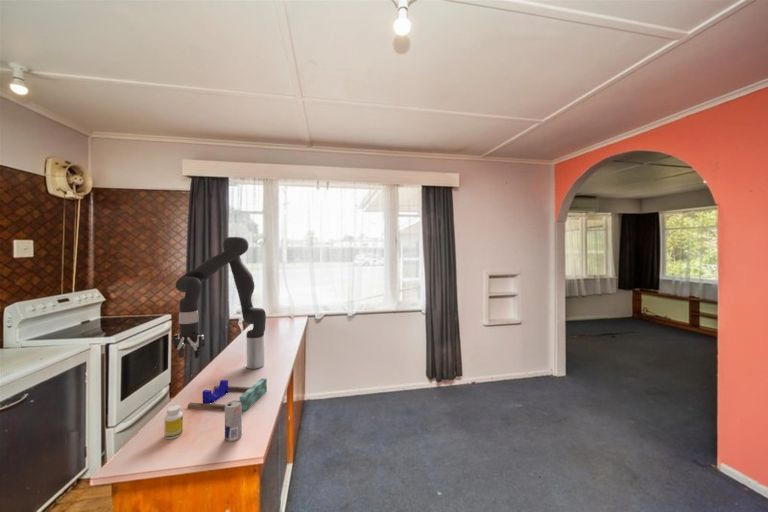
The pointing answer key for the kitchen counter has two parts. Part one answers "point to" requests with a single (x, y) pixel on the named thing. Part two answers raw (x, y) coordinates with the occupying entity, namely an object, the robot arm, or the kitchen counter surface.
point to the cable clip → (215, 392)
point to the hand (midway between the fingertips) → (189, 357)
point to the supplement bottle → (173, 422)
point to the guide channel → (246, 398)
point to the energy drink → (233, 421)
